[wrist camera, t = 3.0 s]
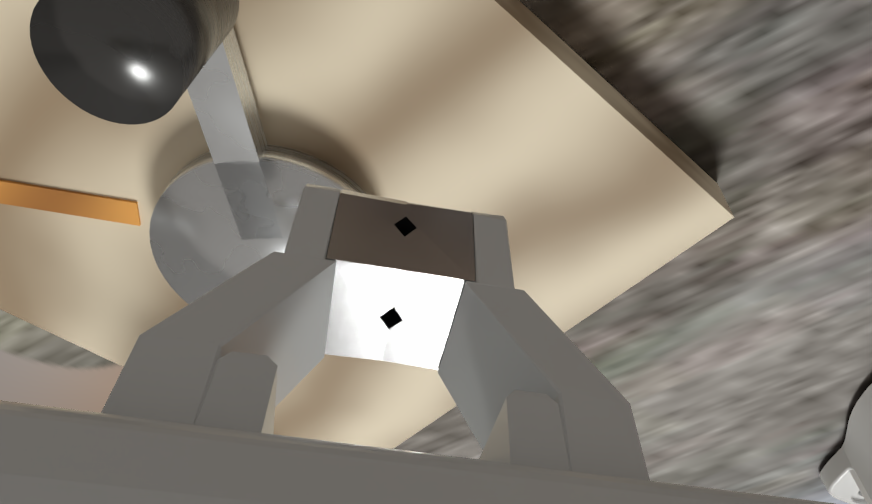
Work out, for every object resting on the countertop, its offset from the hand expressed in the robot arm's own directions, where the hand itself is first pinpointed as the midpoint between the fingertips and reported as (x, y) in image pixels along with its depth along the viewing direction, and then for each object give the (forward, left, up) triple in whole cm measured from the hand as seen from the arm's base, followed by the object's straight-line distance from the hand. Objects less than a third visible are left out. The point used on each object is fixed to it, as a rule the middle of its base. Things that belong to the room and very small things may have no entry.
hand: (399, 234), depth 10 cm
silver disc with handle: (+1, +8, -10) cm, 12 cm away
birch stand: (-1, +10, -12) cm, 16 cm away
